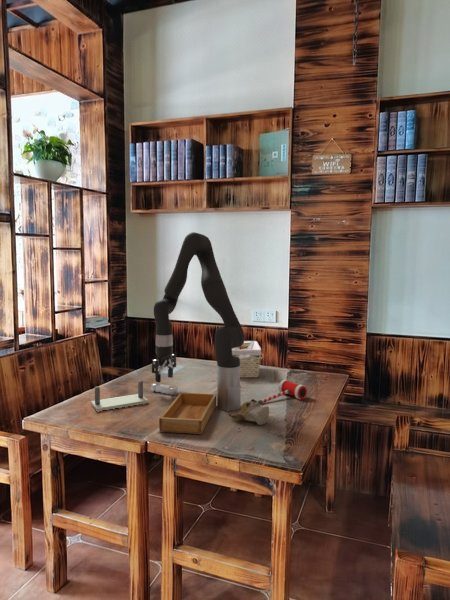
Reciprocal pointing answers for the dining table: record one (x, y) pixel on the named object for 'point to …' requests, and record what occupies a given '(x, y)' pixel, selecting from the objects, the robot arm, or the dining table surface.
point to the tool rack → (119, 399)
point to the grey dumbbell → (164, 388)
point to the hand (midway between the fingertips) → (164, 379)
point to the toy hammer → (288, 391)
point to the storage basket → (248, 358)
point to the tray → (188, 413)
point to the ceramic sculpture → (252, 412)
